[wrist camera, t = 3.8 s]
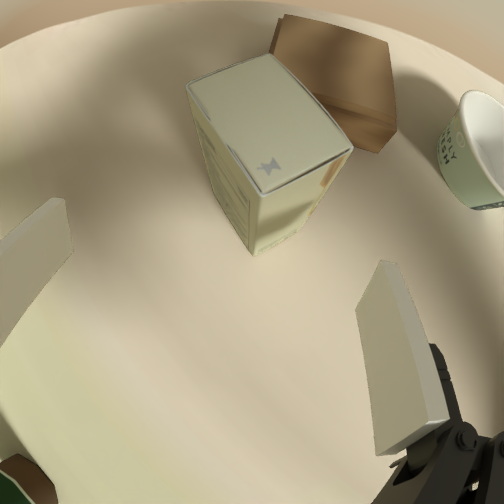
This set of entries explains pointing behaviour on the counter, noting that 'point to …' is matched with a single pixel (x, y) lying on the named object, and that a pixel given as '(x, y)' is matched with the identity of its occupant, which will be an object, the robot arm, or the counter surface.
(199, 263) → the counter surface
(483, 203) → the food container
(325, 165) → the skincare box
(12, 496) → the beer bottle
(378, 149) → the walnut base
